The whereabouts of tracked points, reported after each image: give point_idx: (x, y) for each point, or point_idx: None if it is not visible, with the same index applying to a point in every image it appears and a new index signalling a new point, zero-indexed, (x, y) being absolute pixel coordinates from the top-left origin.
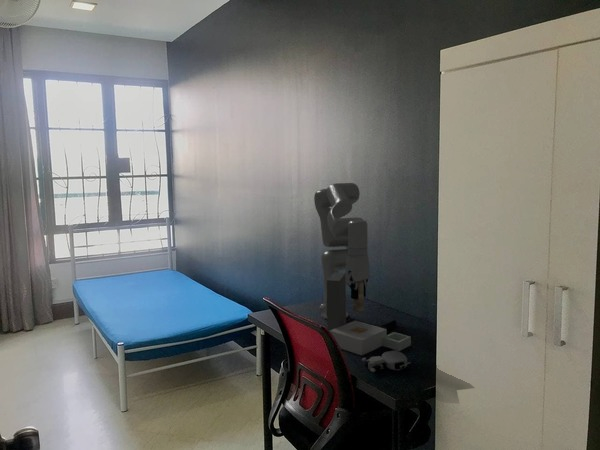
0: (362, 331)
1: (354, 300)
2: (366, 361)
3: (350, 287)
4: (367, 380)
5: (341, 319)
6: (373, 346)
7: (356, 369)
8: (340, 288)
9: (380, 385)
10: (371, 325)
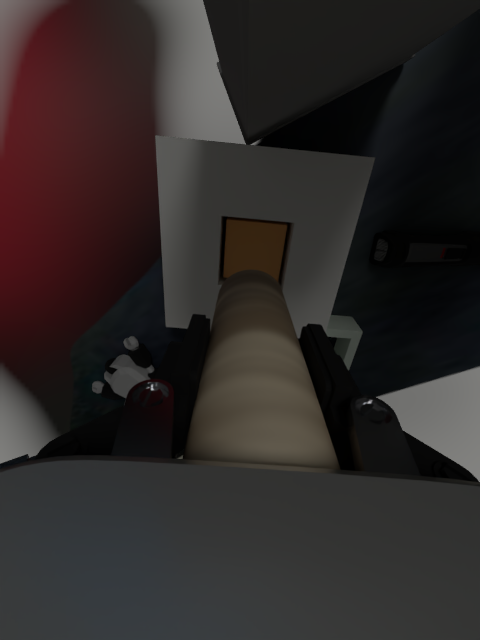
0: (273, 261)
1: (211, 326)
2: (110, 365)
3: (109, 418)
4: (76, 380)
5: (300, 106)
6: None
7: (96, 336)
8: (345, 8)
9: (82, 407)
10: (337, 272)
